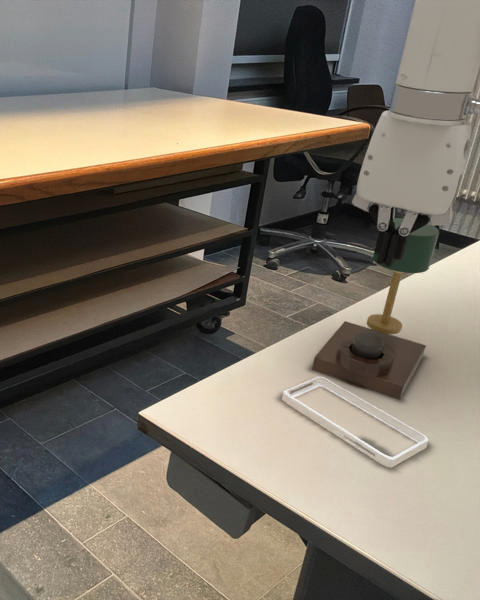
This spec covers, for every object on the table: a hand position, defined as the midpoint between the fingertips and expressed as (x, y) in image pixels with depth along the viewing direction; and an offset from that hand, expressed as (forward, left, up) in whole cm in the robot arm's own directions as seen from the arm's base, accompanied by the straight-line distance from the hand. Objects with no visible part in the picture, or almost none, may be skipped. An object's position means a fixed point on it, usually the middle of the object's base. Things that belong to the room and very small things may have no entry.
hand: (386, 261), depth 81 cm
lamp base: (0, -4, -16) cm, 17 cm away
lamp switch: (0, 0, -13) cm, 13 cm away
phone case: (-2, +11, -17) cm, 20 cm away
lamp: (0, -9, -12) cm, 15 cm away
